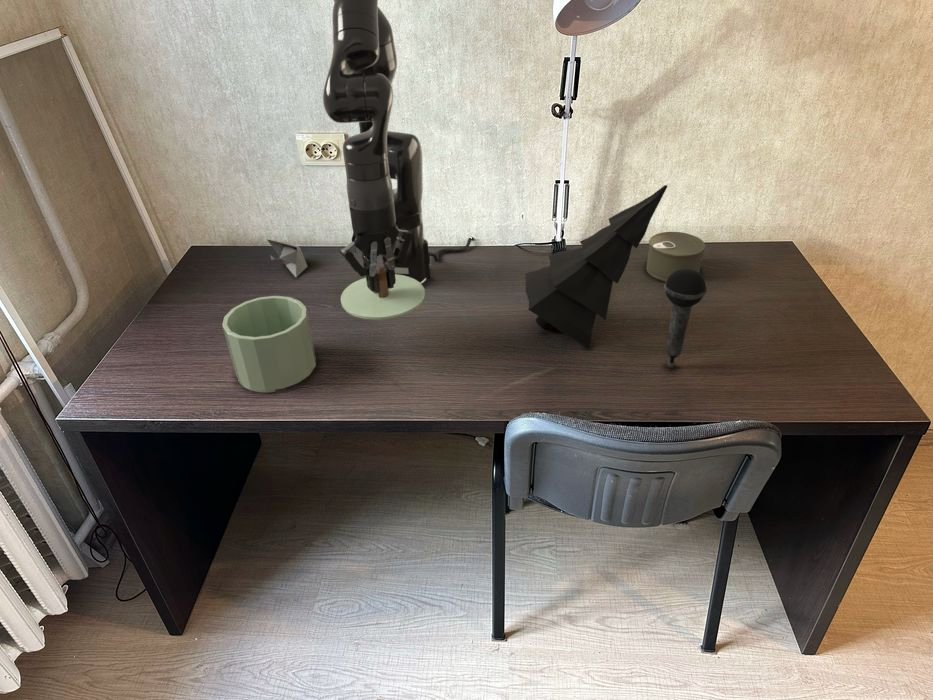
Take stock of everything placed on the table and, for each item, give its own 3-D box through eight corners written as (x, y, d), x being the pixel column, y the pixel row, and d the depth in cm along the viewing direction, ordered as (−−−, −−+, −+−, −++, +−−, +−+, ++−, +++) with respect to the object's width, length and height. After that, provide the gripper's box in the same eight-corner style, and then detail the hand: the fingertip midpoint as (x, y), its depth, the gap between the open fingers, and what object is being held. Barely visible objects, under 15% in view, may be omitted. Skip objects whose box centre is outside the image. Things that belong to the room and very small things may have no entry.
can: (710, 279, 149) (716, 251, 145) (660, 286, 147) (664, 258, 143) (683, 255, 158) (688, 228, 154) (636, 262, 156) (640, 235, 152)
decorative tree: (576, 363, 130) (708, 225, 113) (514, 326, 125) (643, 177, 108) (568, 322, 142) (687, 192, 125) (511, 287, 137) (627, 147, 120)
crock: (299, 338, 133) (289, 288, 127) (328, 374, 123) (318, 321, 117) (227, 362, 127) (213, 311, 121) (251, 402, 117) (236, 348, 111)
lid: (400, 271, 132) (397, 243, 129) (440, 304, 122) (438, 274, 118) (328, 295, 126) (322, 266, 122) (364, 332, 115) (359, 301, 111)
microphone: (683, 383, 118) (703, 284, 107) (645, 372, 121) (661, 274, 110) (694, 363, 123) (715, 266, 112) (658, 353, 126) (674, 257, 115)
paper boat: (321, 263, 157) (292, 269, 150) (310, 281, 161) (281, 288, 154) (292, 226, 160) (261, 230, 152) (281, 245, 163) (251, 250, 156)
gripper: (397, 183, 118) (405, 270, 128) (323, 202, 112) (338, 292, 122) (418, 196, 113) (425, 286, 123) (342, 217, 107) (356, 309, 117)
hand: (381, 288), depth 122 cm, fingers closed on lid, 2 cm apart
